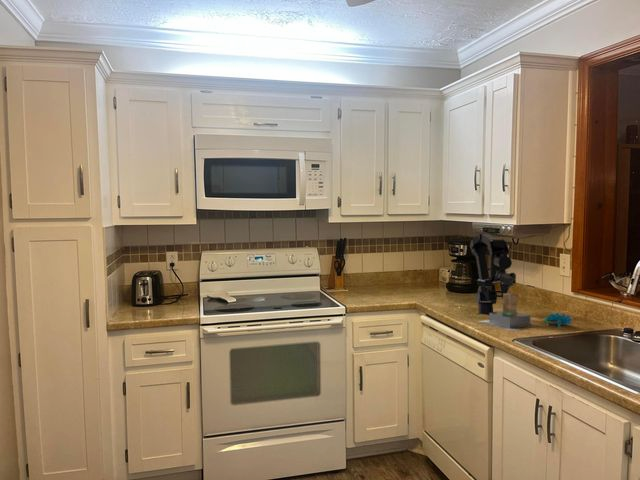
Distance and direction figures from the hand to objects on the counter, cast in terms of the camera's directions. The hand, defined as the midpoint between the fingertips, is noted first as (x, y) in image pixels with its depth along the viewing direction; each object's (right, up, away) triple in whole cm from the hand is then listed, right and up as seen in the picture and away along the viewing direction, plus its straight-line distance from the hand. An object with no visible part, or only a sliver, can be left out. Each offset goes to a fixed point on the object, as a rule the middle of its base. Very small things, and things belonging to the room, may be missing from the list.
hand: (496, 299), depth 220 cm
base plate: (+3, -11, -7) cm, 14 cm away
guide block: (+3, -10, -7) cm, 13 cm away
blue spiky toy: (+23, -11, -10) cm, 28 cm away
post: (+3, -6, -7) cm, 10 cm away
